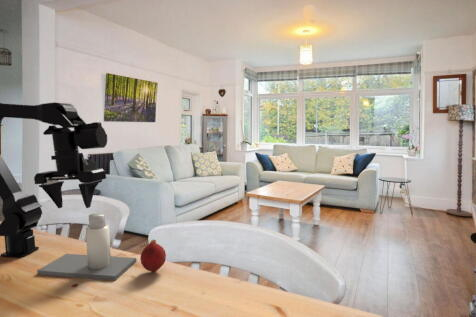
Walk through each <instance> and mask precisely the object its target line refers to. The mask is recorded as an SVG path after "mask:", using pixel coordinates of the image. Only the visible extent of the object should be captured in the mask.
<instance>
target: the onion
mask: <svg viewBox="0 0 476 317" xmlns="http://www.w3.org/2000/svg"><path fill="white" fill-rule="evenodd" d="M166 259H167V253H166V250H165V249H164V247H163V246H162V245H160V244H159V243H157V240H156V239H154V238H153V239H151V240H150V242H149V244H147V245H145V247H143V249H142V252H141V254H140V260H139V261H140V263H141V265H142V267H143V269H145V270H146V271H148V272H151V273H156V272H158V270H160V269H161V268H162V267H163V265H165V262H166Z"/></svg>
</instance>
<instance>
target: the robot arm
mask: <svg viewBox="0 0 476 317" xmlns="http://www.w3.org/2000/svg"><path fill="white" fill-rule="evenodd" d="M4 118H8V119H9V118H13V119H26V120H28V119H29V120H35V121H39V122H42V123H44V124H49V126H48V127H47V128H46V130H44V131H43V132H42V133H43V135H45V136H47V135H48V136H49V135H52V136H51V137H52V145H53V152H54V155H51V156H50V158H51V161H54V160H55V167H56V170H48V171H43V172H42V171H41V172H38V173H37V172H36V174H35V175H34V178H33V181H34V185H38V188H41V189H42V190H43V191H44V192H45V193H46V194H47V195H48V197H49V198H50V199H51V200H52V202H53V203H54V205H55V206H56V207H57V209H61V208H63V193H62V187H63V184H64V183H65V181H70V180H71V181H72V180H73V181H75V180H78V181H79V182H80V183H79V184H78V188H79V191H80V195H81V197H82V200H83V204H84V206H85V209H89V208H90V207H91V205H92V201H93V196H94V193H95V190H96V188H97V187H98V185H99V184H100V183H102V182H103V180H106V179H107V174H106V173H107V172H106V171H105V170H104V169H103V168H97V163H98V162H97V161H94V160H91V159H86V158H84V153H83V152H80V150H79V149H81V150H90V149H91V150H92V149H104V148H106V146H107V144H108V134H107V133H106V130H105V128H104V127H103V126H102V125H103V124H102V122H100V121H99V122H97V121H96V122H95V121H94V122H90V123H87V122H86V121H85V120H84V119H83V118H82V117H81V116H80V115H79V113H78V110H77V109H76V107H75V106H74V105H73V104H70V103H62V102H47V103H41V104H35V105H34V104H33V105H30V104H15V103H3V102H0V126H1V125H2V122H3V119H4ZM58 126H60V127H58ZM71 129H73V130H71ZM0 199H1V201H2V207H1V214H2V215H3V218H4V219H3V221H2V222H1V223H0V237H4V247H5V251H4V252H3V253H0V256H1V257H6V258H8V257H10V258H23V257H25V256H27V255H29V254H31V253H33V252H35V251H37V250H39V249H40V247H39V246H36V238H35V235H34V229H33V228H36V227H38V223H39V221H40V219H41V218H42V215H43V210H42V207H43V206H42V204H40V202H39V201H38V198H37V196H36V195H35V194H30V195H28V194H26V193H25V192H24V191H23V190H22V188H21V186H19V183H18V182H17V180H16V179H15V176H14V175H13V173H12V171H11V170H10V168H9V166H8V165H7V163H6V162H5V160H4V158H3V157H2V154H0Z"/></svg>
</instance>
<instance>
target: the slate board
mask: <svg viewBox="0 0 476 317" xmlns="http://www.w3.org/2000/svg"><path fill="white" fill-rule="evenodd" d="M135 263H137V257H126V256H111V264H110V265H109V266H107V267H105V268H101V269H89V268H88V261H87V254H81V253H80V254H79V253H65V254H63V255H62V256H60V257H58V258H56V259H54V260H53V261H51V262H49V263H48V264H45V265H44V266H42V267H41V268H38V269H37V271H36V272H37V273H36V274H37V276H38V275H40V276H41V275H42V276H50V277H51V276H53V277H54V276H55V277H67V278H80V279H81V278H82V279H96V280H105V281H107V280H108V281H116V280H118V279H119V278H120V277H121V276H122V275H123V274H124V273H125V272H127V271H128V270H129V269H130V268H131V267H132V266H133V265H134V264H135Z"/></svg>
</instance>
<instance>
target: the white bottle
mask: <svg viewBox="0 0 476 317" xmlns="http://www.w3.org/2000/svg"><path fill="white" fill-rule="evenodd" d="M88 224H89V225H88V226H86V227H85V236H86V237H85V239H86V255H87V261H88V268H89V269H101V268H105V267H107V266H109V265H110V264H111V239H110V225H109V224H108V223H106V213H104V212H96V213H95V212H94V213H90V214H89V215H88Z"/></svg>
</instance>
